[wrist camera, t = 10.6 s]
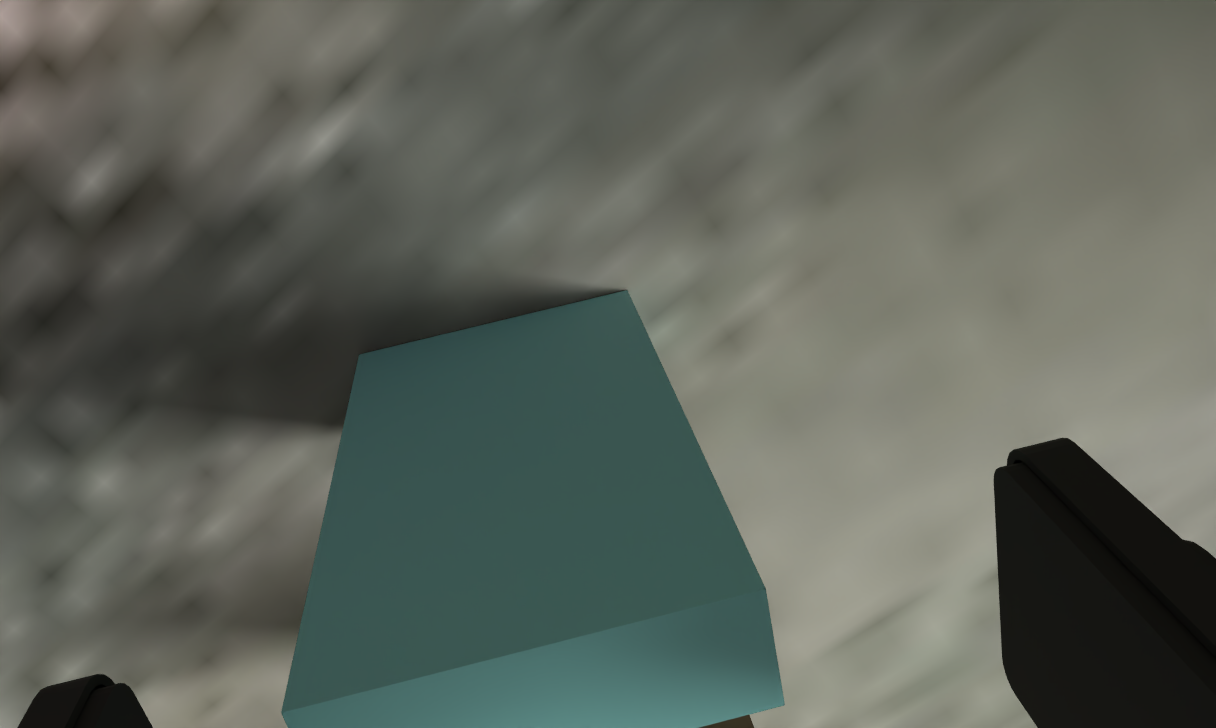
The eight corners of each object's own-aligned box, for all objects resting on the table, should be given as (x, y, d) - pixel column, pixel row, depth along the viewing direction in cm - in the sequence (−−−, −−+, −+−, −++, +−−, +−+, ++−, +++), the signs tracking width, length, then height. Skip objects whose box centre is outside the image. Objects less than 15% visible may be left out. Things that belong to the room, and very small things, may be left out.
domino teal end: (359, 354, 18) (281, 713, 10) (627, 290, 18) (766, 588, 10) (384, 430, 19) (332, 824, 11) (642, 367, 19) (784, 705, 11)
